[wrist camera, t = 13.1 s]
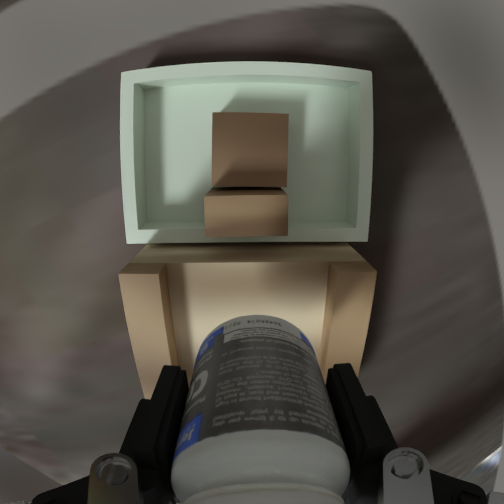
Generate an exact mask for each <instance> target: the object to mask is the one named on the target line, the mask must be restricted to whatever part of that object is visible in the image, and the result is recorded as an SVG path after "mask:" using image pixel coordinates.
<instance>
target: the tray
mask: <svg viewBox="0 0 504 504" xmlns="http://www.w3.org/2000/svg"><path fill="white" fill-rule="evenodd" d="M212 112H255V113H282V114H289V125H288V164H287V187H281V188H282V189H283V190H284V191H285V192H286V193H287V194H288V236H242V237H206V236H205V213H204V196H205V195H206V194H207V192H208V191H209V190H210V189H211V188H212V187H247V186H212ZM120 152H121V177H122V194H123V208H124V220H125V230H126V240H127V244H135V243H207V242H368V232H369V220H370V206H371V190H372V167H373V89H372V71H367V70H361V69H354V68H346V67H338V66H329V65H319V64H306V63H291V62H262V61H238V62H209V63H193V64H181V65H171V66H162V67H154V68H146V69H139V70H133V71H127V72H121V95H120Z"/></svg>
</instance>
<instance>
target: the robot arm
mask: <svg viewBox="0 0 504 504" xmlns="http://www.w3.org/2000/svg"><path fill="white" fill-rule="evenodd" d="M326 388H327V391H328V395H329V398H330V401H331V405H332V408H333V411H334V414H335V417H336V421H337V424H338V427H339V430H340V433H341V436H342V439H343V442H344V446H345V449H346V452H347V455H348V459H349V464H350V479H349V483H348V486H347V488H346V490H345V491H344V493H343V494H342V496H341V498H342V499H343V500H344V503H345V504H504V493H501V492H493V491H490V492H489V493H488V494H485V492H484V490H483V489H482V488H481V487H479V486H478V485H475V484H473V483H469V482H466V481H463V480H460V479H457V478H454V477H451V476H448V475H445V474H442V473H439V472H436V471H433V470H430V469H429V464H428V461H427V458H426V457H425V456H424V454H423V453H421V452H420V451H418V450H416V449H413V448H407V447H402V448H398V446H397V444H396V442H395V440H394V437H393V435H392V433H391V431H390V429H389V427H388V425H387V422H386V420H385V418H384V416H383V414H382V412H381V410H380V408H379V406H378V404H377V401H376V399H375V398H374V397H373V396H372V395H371V396H366V395H365V393H364V391H363V389H362V387H361V384H360V382H359V380H358V378H357V376H356V374H355V372H354V369H353V367H352V365H351V363H340V364H334V366H333V368H329V369H328V372H327V379H326ZM188 391H189V386H188V380H187V373H186V370H181V367H180V366H175V365H164V366H163V368H162V370H161V373H160V376H159V378H158V381H157V383H156V386H155V389H154V391H153V394H152V397H151V399H141V400H140V402H139V404H138V406H137V409H136V411H135V414H134V416H133V419H132V421H131V424H130V426H129V429H128V431H127V434H126V436H125V439H124V441H123V444H122V446H121V449H120V452H119V453H107V454H104V455H102V456H100V457H98V458H97V459H96V460H95V461H94V462H93V463H92V465H91V468H90V475H89V476H87V477H84V478H82V479H79V480H76V481H74V482H71V483H69V484H66V485H63V486H60V487H58V488H55V489H52V490H49V491H46V492H44V493H41V494H39V495H37V496H36V497H35V498H34V499H33V500H32V502H31V503H27V502H26V501H20V502H13V503H6V504H176V503H181V502H180V501H179V500H178V498H177V497H176V495H175V493H174V491H173V488H172V484H171V468H172V462H173V457H174V452H175V448H176V443H177V439H178V435H179V431H180V426H181V422H182V418H183V412H184V409H185V404H186V400H187V396H188Z"/></svg>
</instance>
